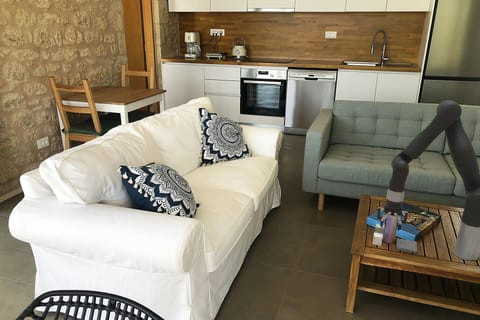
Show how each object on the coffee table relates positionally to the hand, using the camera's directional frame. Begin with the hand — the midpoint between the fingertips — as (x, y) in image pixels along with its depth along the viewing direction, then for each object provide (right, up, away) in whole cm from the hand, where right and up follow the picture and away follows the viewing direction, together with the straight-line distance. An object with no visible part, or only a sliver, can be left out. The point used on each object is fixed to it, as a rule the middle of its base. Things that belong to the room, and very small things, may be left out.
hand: (389, 228), depth 192 cm
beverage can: (0, -7, +2) cm, 7 cm away
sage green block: (-2, -4, +9) cm, 10 cm away
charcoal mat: (+7, -8, -3) cm, 11 cm away
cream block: (-6, -7, 0) cm, 10 cm away
